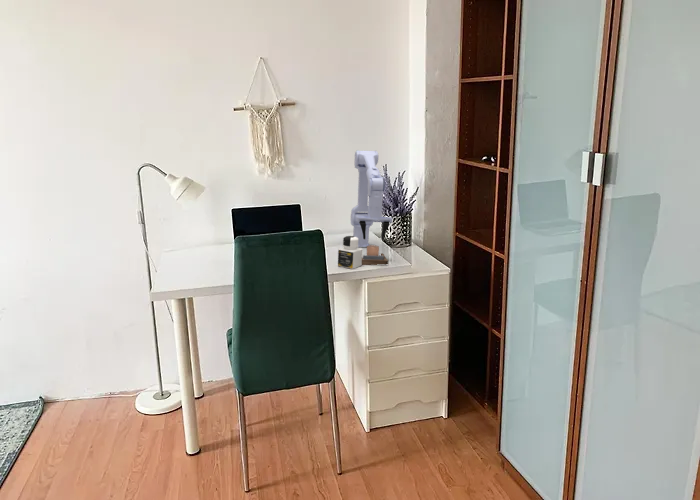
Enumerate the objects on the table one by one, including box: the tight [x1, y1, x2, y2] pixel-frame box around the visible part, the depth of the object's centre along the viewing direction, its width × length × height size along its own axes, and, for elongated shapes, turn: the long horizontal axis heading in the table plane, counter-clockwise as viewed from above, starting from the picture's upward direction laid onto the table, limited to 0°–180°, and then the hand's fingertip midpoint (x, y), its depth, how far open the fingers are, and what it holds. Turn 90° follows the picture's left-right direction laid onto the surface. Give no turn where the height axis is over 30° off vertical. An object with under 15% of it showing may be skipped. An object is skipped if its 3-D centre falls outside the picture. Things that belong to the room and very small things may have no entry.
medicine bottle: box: [337, 235, 363, 270], centre depth 235 cm, size 7×7×12 cm
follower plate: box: [362, 254, 385, 260], centre depth 243 cm, size 1×8×2 cm, turn 96°
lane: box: [361, 252, 389, 266], centre depth 246 cm, size 14×11×2 cm
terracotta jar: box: [366, 244, 380, 256], centre depth 246 cm, size 5×5×6 cm
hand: (373, 239), depth 244 cm, fingers open, 7 cm apart
